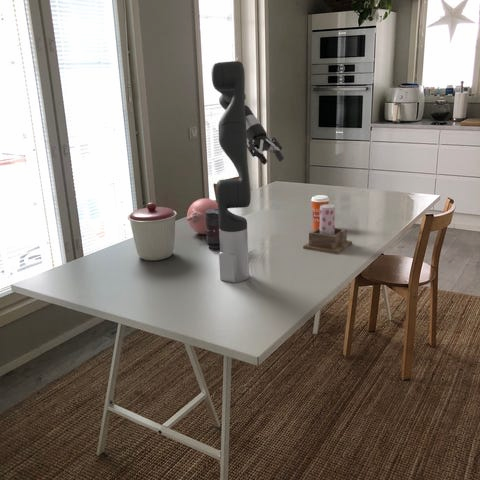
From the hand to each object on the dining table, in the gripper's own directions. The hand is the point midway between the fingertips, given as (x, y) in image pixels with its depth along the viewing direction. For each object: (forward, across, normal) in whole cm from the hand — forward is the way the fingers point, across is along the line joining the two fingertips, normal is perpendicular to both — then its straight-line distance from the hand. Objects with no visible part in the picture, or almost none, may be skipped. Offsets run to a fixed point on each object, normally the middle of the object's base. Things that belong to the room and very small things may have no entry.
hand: (273, 161), depth 198 cm
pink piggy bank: (+1, -13, +45) cm, 47 cm away
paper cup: (+23, +27, +24) cm, 43 cm away
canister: (+8, -42, +39) cm, 58 cm away
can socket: (+35, +11, +11) cm, 39 cm away
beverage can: (+35, +11, +10) cm, 38 cm away
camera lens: (+14, -20, +32) cm, 40 cm away
